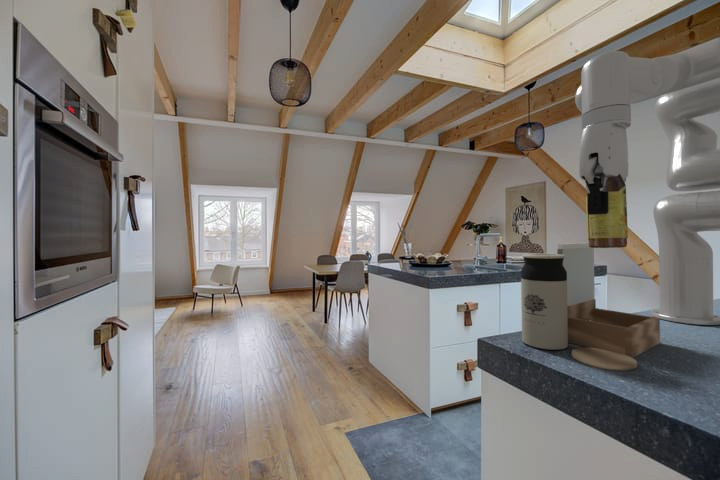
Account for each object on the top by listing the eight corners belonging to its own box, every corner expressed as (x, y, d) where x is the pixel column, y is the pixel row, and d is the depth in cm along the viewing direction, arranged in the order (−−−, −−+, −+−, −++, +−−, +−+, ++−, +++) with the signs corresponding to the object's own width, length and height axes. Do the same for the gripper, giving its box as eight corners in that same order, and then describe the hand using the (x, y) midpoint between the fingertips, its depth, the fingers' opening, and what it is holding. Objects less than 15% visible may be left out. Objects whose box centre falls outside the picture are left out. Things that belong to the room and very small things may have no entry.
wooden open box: (590, 328, 73) (590, 298, 73) (659, 342, 63) (659, 307, 63) (559, 340, 66) (559, 306, 66) (632, 358, 56) (631, 318, 56)
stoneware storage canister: (542, 336, 69) (541, 253, 69) (577, 348, 61) (576, 254, 61) (513, 340, 66) (511, 254, 66) (546, 353, 59) (545, 256, 59)
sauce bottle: (635, 248, 58) (634, 139, 58) (597, 248, 59) (595, 142, 59) (615, 247, 64) (614, 149, 64) (580, 247, 66) (579, 151, 66)
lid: (591, 328, 74) (590, 242, 73) (596, 329, 73) (595, 242, 73) (557, 340, 66) (556, 244, 66) (563, 342, 65) (561, 244, 65)
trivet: (585, 347, 62) (585, 344, 62) (645, 362, 54) (645, 358, 54) (562, 357, 57) (562, 354, 57) (624, 375, 49) (624, 371, 49)
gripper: (602, 134, 69) (603, 217, 69) (561, 120, 60) (562, 214, 60) (647, 124, 63) (648, 214, 63) (608, 105, 54) (609, 211, 54)
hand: (606, 213), depth 62 cm, fingers closed on sauce bottle, 6 cm apart
